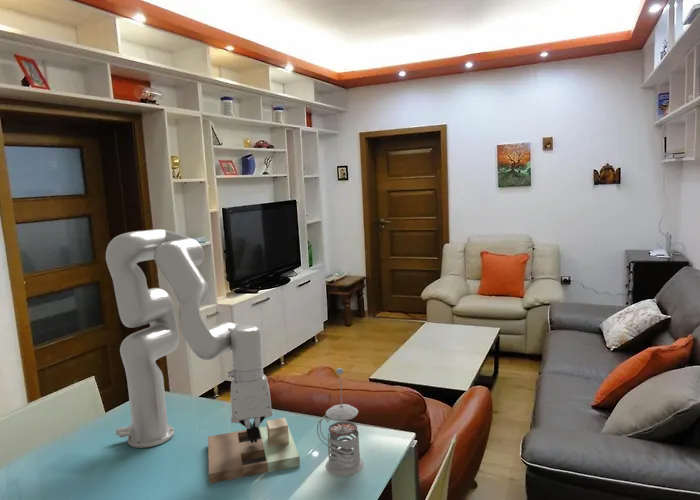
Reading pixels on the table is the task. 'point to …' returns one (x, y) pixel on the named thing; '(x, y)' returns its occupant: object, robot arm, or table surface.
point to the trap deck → (247, 455)
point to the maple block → (277, 432)
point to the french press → (345, 457)
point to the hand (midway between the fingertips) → (253, 440)
